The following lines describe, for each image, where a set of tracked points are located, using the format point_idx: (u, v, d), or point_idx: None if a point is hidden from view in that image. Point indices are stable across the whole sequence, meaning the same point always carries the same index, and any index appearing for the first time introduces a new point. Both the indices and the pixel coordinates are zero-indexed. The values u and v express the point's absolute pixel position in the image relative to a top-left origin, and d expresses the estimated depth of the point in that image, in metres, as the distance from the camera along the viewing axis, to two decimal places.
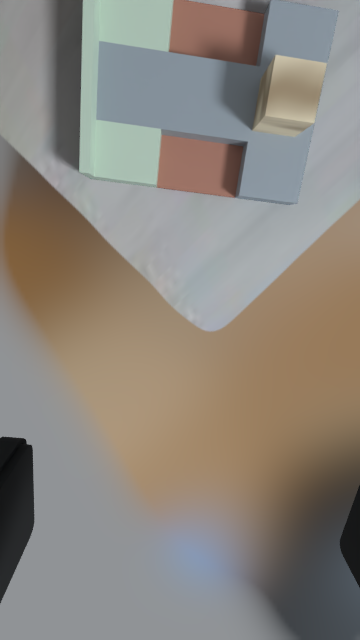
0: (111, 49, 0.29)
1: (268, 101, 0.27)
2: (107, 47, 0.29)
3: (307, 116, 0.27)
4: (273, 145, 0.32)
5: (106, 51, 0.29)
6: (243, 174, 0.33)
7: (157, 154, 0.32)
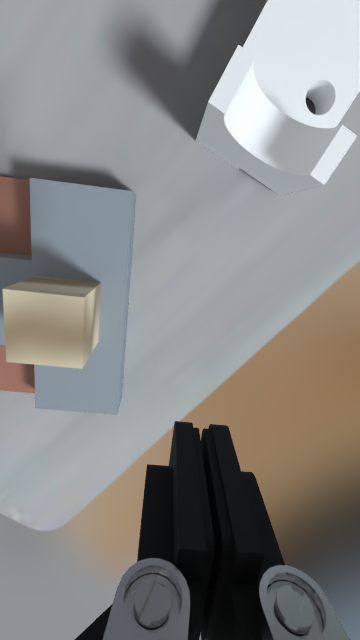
0: None
1: (7, 344, 0.18)
2: None
3: (70, 361, 0.19)
4: None
5: None
6: (36, 384, 0.24)
7: None
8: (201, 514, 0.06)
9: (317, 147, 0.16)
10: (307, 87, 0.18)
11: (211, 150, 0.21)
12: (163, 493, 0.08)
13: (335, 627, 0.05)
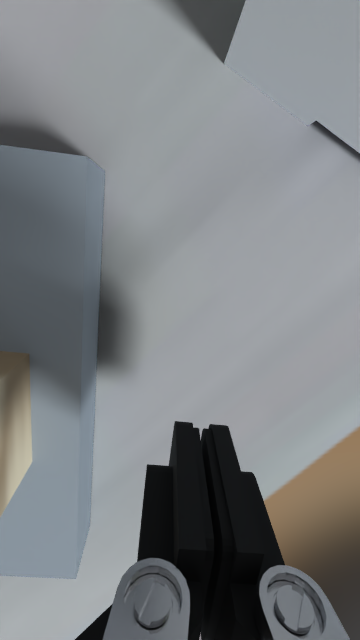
0: None
1: None
2: None
3: None
4: None
5: None
6: None
7: None
8: (201, 514, 0.06)
9: None
10: None
11: (257, 83, 0.10)
12: (164, 493, 0.08)
13: (335, 627, 0.05)
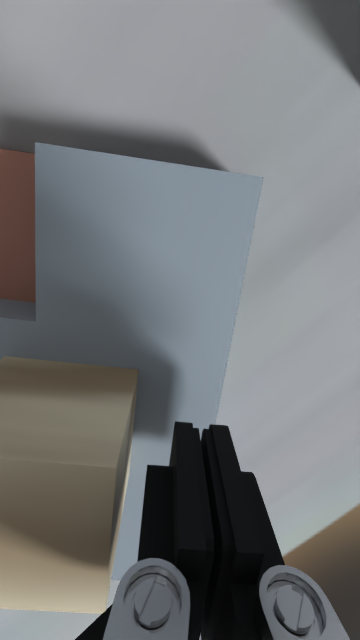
0: None
1: None
2: None
3: (75, 600, 0.07)
4: None
5: None
6: None
7: None
8: (201, 514, 0.06)
9: None
10: None
11: None
12: (164, 493, 0.08)
13: (335, 627, 0.05)
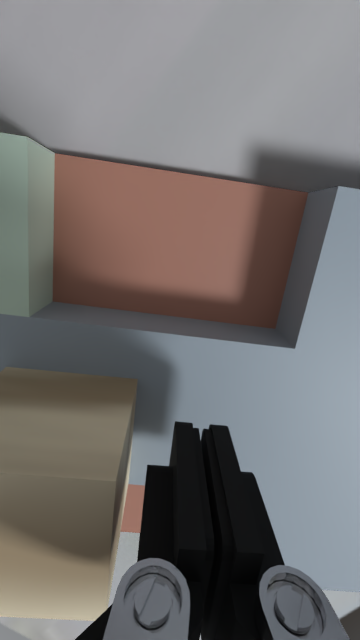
0: None
1: None
2: None
3: (77, 608, 0.08)
4: (319, 498, 0.13)
5: None
6: None
7: None
8: (201, 514, 0.06)
9: None
10: None
11: None
12: (164, 493, 0.08)
13: (335, 627, 0.05)
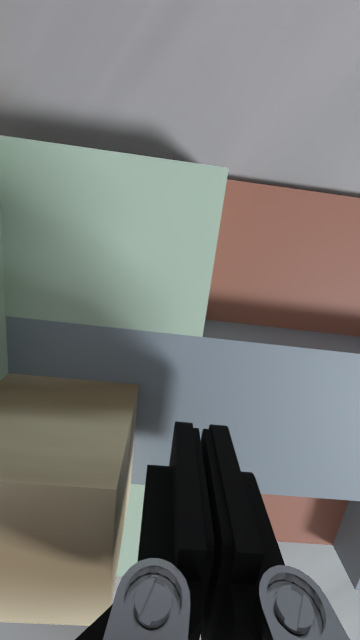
0: (43, 334, 0.10)
1: None
2: (31, 330, 0.10)
3: (79, 614, 0.08)
4: None
5: (29, 339, 0.10)
6: None
7: None
8: (201, 514, 0.06)
9: None
10: None
11: None
12: (164, 493, 0.08)
13: (335, 627, 0.05)
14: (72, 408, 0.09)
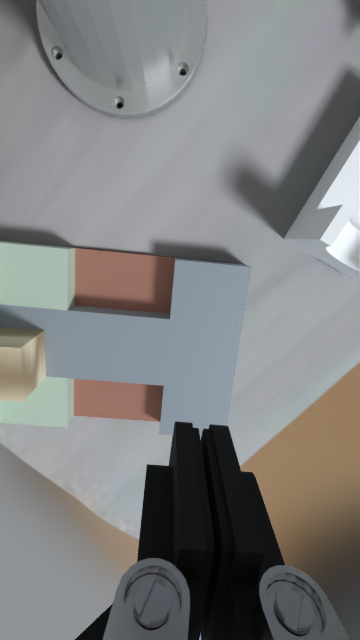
0: (5, 310, 0.27)
1: None
2: (1, 309, 0.27)
3: (13, 396, 0.24)
4: (192, 387, 0.29)
5: (0, 312, 0.27)
6: (162, 415, 0.30)
7: (65, 400, 0.29)
8: (201, 514, 0.06)
9: None
10: None
11: (296, 246, 0.28)
12: (164, 493, 0.08)
13: (335, 627, 0.05)
14: (14, 334, 0.26)
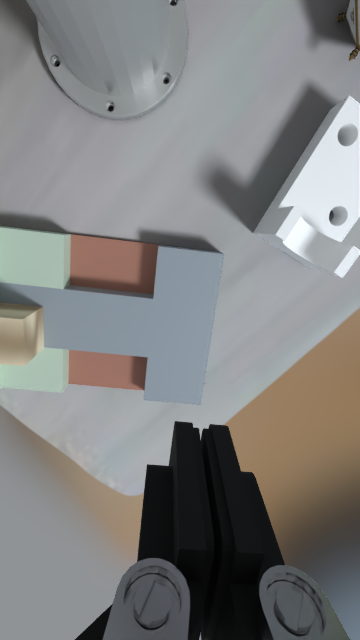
0: (9, 288, 0.31)
1: None
2: (5, 286, 0.30)
3: (16, 361, 0.28)
4: (173, 359, 0.33)
5: (4, 289, 0.31)
6: (146, 383, 0.34)
7: (61, 369, 0.33)
8: (201, 514, 0.06)
9: (338, 254, 0.27)
10: (329, 210, 0.29)
11: (263, 239, 0.32)
12: (164, 493, 0.08)
13: (335, 627, 0.05)
14: (17, 309, 0.29)
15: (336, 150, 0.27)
